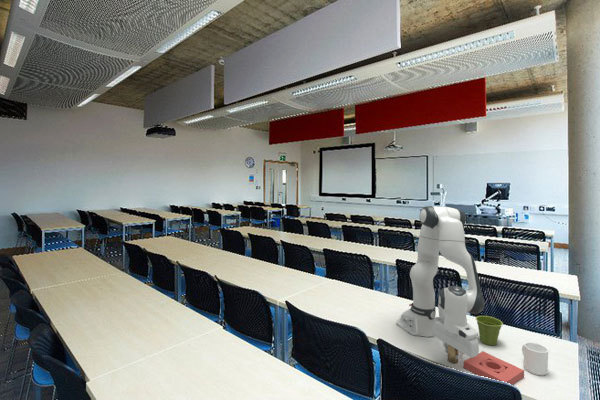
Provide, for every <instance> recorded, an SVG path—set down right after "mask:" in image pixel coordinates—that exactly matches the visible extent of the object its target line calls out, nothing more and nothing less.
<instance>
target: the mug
mask: <svg viewBox="0 0 600 400" xmlns="http://www.w3.org/2000/svg"><path fill="white" fill-rule="evenodd" d="M521 353H522V355H523V368H524V370H525V371H527V372H528V373H531V374H533V375H536V376H546V375H547V374H548V370H549V367H548V365H549V349H548V348H547V347H546V346H545V345H543V344H540V343H538V342H537V343H536V342H524V344H523V345H522V347H521Z"/></svg>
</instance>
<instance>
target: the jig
mask: <svg viewBox="0 0 600 400" xmlns="http://www.w3.org/2000/svg"><path fill="white" fill-rule="evenodd" d="M463 369H466V370H467V371H469V372H470V373H473V374H475V375H477V376H478V375H480V376H484V377H488V378H491V379H495V380H499V381H504V382H507V383H510V384H512V385H511V386H513V385H514V384H516V383H517V382H519V381H521V380H523V379H524V378H525V369H522V368H520V367H518V366H516V365H513V364H511V363H509V362H507V361H504V360H503V359H501V358H498V357H496V356H494V355H492V354H490V353H488V352H486V351H481V352H479V353H478V355H477V356H476V357H473V358H471V357H469V358H467V359H465V360H463ZM480 376H479V377H480Z"/></svg>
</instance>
